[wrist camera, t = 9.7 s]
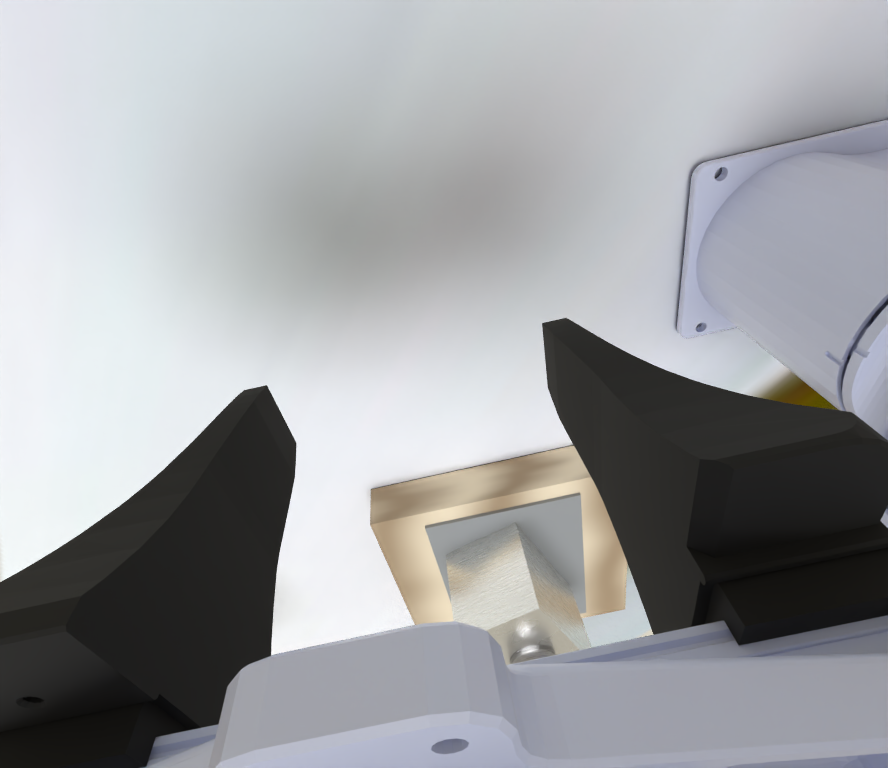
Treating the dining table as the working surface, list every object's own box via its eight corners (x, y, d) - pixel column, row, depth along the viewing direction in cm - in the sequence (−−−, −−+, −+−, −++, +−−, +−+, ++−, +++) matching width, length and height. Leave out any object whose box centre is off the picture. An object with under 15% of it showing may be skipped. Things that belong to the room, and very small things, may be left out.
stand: (612, 436, 28) (632, 471, 26) (611, 576, 36) (626, 611, 34) (371, 489, 28) (370, 527, 26) (424, 615, 36) (426, 653, 34)
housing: (515, 521, 27) (545, 629, 22) (570, 587, 31) (606, 689, 26) (445, 554, 28) (458, 664, 23) (508, 613, 32) (531, 716, 27)
